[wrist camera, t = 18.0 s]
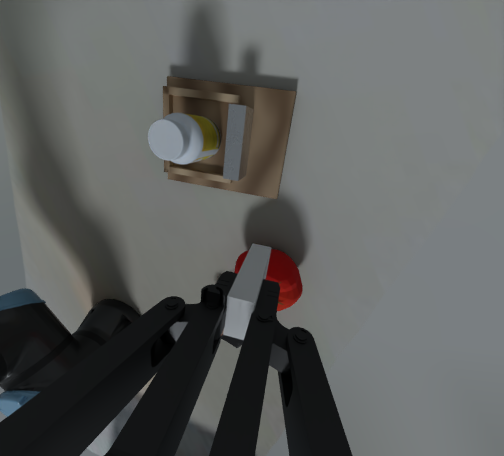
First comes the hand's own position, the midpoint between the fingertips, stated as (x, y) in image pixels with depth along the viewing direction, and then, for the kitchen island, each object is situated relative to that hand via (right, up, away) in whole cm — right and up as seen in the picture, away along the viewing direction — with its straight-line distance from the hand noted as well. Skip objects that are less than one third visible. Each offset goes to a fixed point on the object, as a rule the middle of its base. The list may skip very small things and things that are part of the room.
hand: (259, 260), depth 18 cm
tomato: (+3, -5, +28) cm, 29 cm away
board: (-5, +17, +21) cm, 28 cm away
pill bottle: (-9, +17, +20) cm, 28 cm away
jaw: (-2, +16, +19) cm, 25 cm away
